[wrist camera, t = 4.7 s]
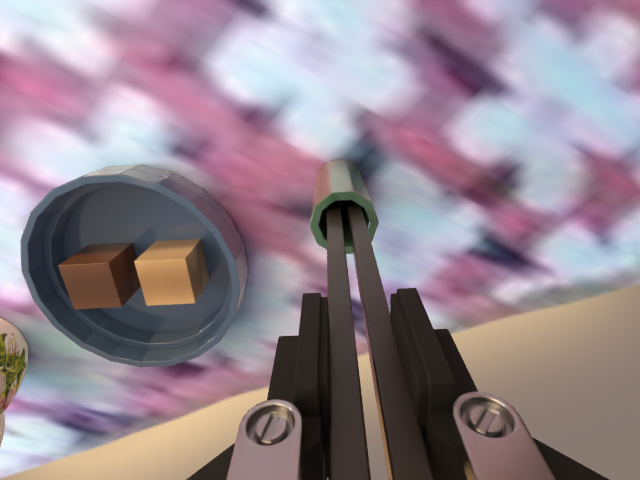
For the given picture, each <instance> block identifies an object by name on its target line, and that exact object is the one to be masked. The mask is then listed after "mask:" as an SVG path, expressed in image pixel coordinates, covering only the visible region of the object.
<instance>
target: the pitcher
mask: <svg viewBox="0 0 640 480" xmlns="http://www.w3.org/2000/svg"><path fill="white" fill-rule="evenodd" d="M27 363H28V345H27V342H26V340H25V338H24V336H23V335H22V333H21V332H20V331H19V330H18V329H17V328H16V327H15V326H13V325H12V324H11V323H9V322H8V321H6V320H4V319H2V318H0V446H1V443H2V439H3V434H4V428H5V417H4V411H5V410H6V409H7V407H8V406H9V404H10V403H11V401H12V400H13V398H14V396H15V394H16V393H17V391H18V389H19V387H20V385H21V383H22V380H23V378H24V375H25V372H26V368H27Z"/></svg>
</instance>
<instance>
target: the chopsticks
mask: <svg viewBox="0 0 640 480" xmlns="http://www.w3.org/2000/svg"><path fill="white" fill-rule="evenodd" d="M345 202H346V208H347V215H348V221H349V228H350V234H351V241H352V247H353V253H354V260H355V266H356V273H357V279H358V286H359V292H360V299H361V305H362V311H363V318H364V324H365V331H366V337H367V344H368V350H369V356H370V363H371V369H372V376H373V382H374V389H375V395H376V402H377V408H378V415H379V421H380V427H381V434H382V440H383V446H384V453H385V460H386V466H387V472H388V479H389V480H435V477H434V473H433V469H432V466H431V462H430V458H429V454H428V451H427V447H426V443H425V440H424V436H423V432H422V429H421V425H420V424H419V423H417V420H416V416H415V412H414V409H413V405H412V401H411V397H410V393H409V390H408V386H407V382H406V378H405V374H404V371H403V367H402V363H401V359H400V355H399V351H398V348H397V344H396V340H395V336H394V332H393V329H392V325H391V321H390V316H391V315H390V311H389V307H388V304H387V300H386V296H385V293H384V289H383V285H382V282H381V278H380V274H379V270H378V267H377V263H376V259H375V256H374V252H373V248H372V245H371V241H370V237H369V234H368V230H367V226H366V223H365V219H364V215H363V212H362V208H361V206H360V205H358V204H357V203H355V202H354V201H352V200H345ZM327 278H328V311H329V336H330V419H331V426H330V427H329V428H328V460H329V480H371V476H370V467H369V459H368V449H367V440H366V431H365V422H364V413H363V404H362V395H361V386H360V377H359V369H358V359H357V350H356V341H355V332H354V323H353V314H352V305H351V296H350V287H349V278H348V269H347V260H346V251H345V242H344V233H343V224H342V215H341V206H340V201H334V202H333V203H332V204H330V205H329V206H328V207H327Z"/></svg>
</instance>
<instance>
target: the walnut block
mask: <svg viewBox="0 0 640 480" xmlns="http://www.w3.org/2000/svg"><path fill="white" fill-rule="evenodd" d="M136 259H137V256H136V253H135V249H134V246H133V243H118V244H101V245H88V246H86V247H85V248H83V249H82V250H80V251H79V252H77V253H76V254H74V255H73V256H71V257H70V258H68V259H67V260H66V261H64V262H63V263H61V264H60V265H58V266H59V269H60V272H61V275H62V277H63V280H64V283H65V286H66V288H67V291H68V294H69V296H70V299H71V302H72V305H73V307H74V309H91V308H111V307H122V306H123V305H124V304H125V303H126V302H127V301H128V300H129V299H130V298H131V297H132V295H133V294H134V293H135V292H136V291H137V290H138V289H139V288H140V287H141V284H140V280H139V277H138V273H137V269H136V266H135V262H134V261H135V260H136Z"/></svg>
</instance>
